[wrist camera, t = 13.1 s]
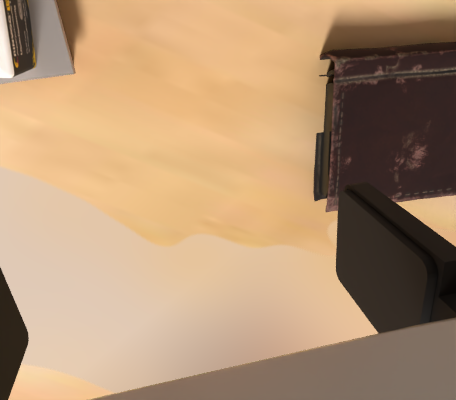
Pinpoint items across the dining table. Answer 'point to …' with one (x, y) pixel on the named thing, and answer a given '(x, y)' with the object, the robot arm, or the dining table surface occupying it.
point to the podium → (47, 43)
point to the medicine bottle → (15, 38)
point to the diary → (389, 123)
